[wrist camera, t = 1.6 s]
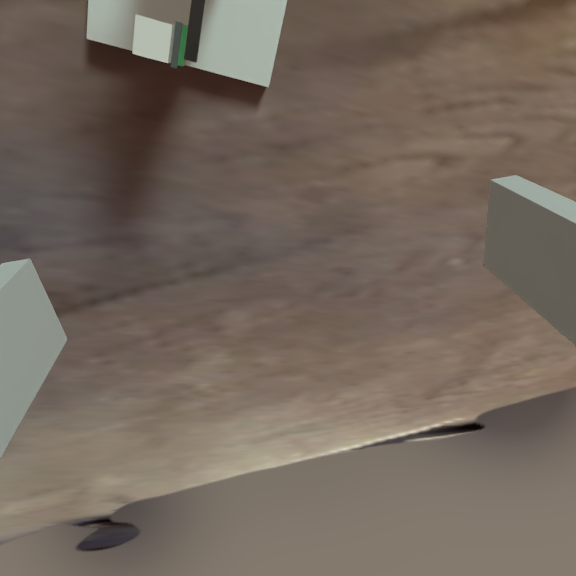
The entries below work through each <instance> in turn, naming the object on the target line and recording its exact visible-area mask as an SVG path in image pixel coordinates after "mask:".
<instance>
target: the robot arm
mask: <svg viewBox="0 0 576 576" xmlns="http://www.w3.org/2000/svg"><path fill="white" fill-rule="evenodd" d="M483 266H484V267H486V268H487V269H488V270H489V271H490V272H491V273H493V274H494V275H495V276H496V277H497V278H498V279H499V280H501V281H502V282H503V283H504V284H505V285H506V286H507V287H509V288H510V289H511V290H512V291H513V292H514V293H516V294H517V295H518V296H519V297H520V298H521V299H522V300H524V301H525V302H526V303H527V304H528V305H529V306H531V307H532V308H533V309H534V310H535V311H536V312H537V313H539V314H540V315H541V316H542V317H543V318H544V319H545V320H547V321H548V322H549V323H550V324H551V325H552V326H554V327H555V328H556V329H557V330H558V331H559V332H560V333H562V334H563V335H564V336H565V337H566V338H567V339H568V340H570V341H571V342H572V343H573V344H574V345H575V346H576V202H575V201H572V200H570V199H568V198H566V197H564V196H561V195H559V194H557V193H555V192H552V191H550V190H548V189H546V188H544V187H541V186H539V185H537V184H535V183H532V182H530V181H528V180H526V179H524V178H521V177H519V176H517V175H515V176H509V177H503V178H497V179H492V180H490V190H489V203H488V215H487V227H486V240H485V252H484V264H483ZM66 341H67V337H66V335H65V333H64V331H63V328H62V326H61V324H60V322H59V320H58V318H57V315H56V313H55V311H54V309H53V307H52V305H51V302H50V300H49V298H48V296H47V294H46V292H45V290H44V287H43V285H42V283H41V281H40V279H39V277H38V274H37V272H36V270H35V268H34V266H33V264H32V261H31V259H24V260H19V261H13V262H7V263H2V264H1V265H0V458H1V456H2V454H3V453H4V451H5V449H6V447H7V446H8V444H9V442H10V440H11V438H12V437H13V435H14V433H15V431H16V430H17V428H18V426H19V424H20V422H21V421H22V419H23V417H24V415H25V414H26V412H27V410H28V408H29V407H30V405H31V403H32V401H33V399H34V398H35V396H36V394H37V392H38V391H39V389H40V387H41V385H42V383H43V382H44V380H45V378H46V376H47V375H48V373H49V371H50V369H51V368H52V366H53V364H54V362H55V360H56V359H57V357H58V355H59V353H60V352H61V350H62V348H63V346H64V344H65V343H66Z"/></svg>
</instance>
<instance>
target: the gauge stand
mask: <svg viewBox="0 0 576 576" xmlns="http://www.w3.org/2000/svg"><path fill="white" fill-rule="evenodd" d="M191 1H192V0H88V20H87V39H89V40H93V41H97V42H101V43H104V44H108V45H112V46H116V47H119V48H123V49H127V50H131V51H132V54H135V55H138V56H142V57H146V58H150V59H154V60H157V61H161V62H165V63H171V65H170V67H172V68H176V69H177V65H178V66H185V65H187V66H190V67H194V68H198V69H202V70H205V71H209V72H213V73H217V74H220V75H224V76H228V77H232V78H235V79H239V80H243V81H247V82H250V83H254V84H258V85H261V86H265V87H269V84H270V79H271V74H272V69H273V65H274V60H275V55H276V51H277V46H278V41H279V36H280V32H281V27H282V22H283V18H284V13H285V8H286V3H287V0H206V4H205V11H204V18H203V25H202V32H201V39H200V46H199V52H198V59H197V63H195V62H192V61H188V60H184V54H185V46H186V39H187V31H188V23H189V16H190V8H191Z"/></svg>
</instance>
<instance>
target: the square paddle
mask: <svg viewBox="0 0 576 576" xmlns="http://www.w3.org/2000/svg"><path fill="white" fill-rule="evenodd" d="M205 4H206V0H192V1H191V8H190V16H189V23H188V31H187V39H186V46H185V54H184V60H188V61H192V62H195V63H197V59H198V52H199V46H200V39H201V32H202V25H203V18H204V11H205Z"/></svg>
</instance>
